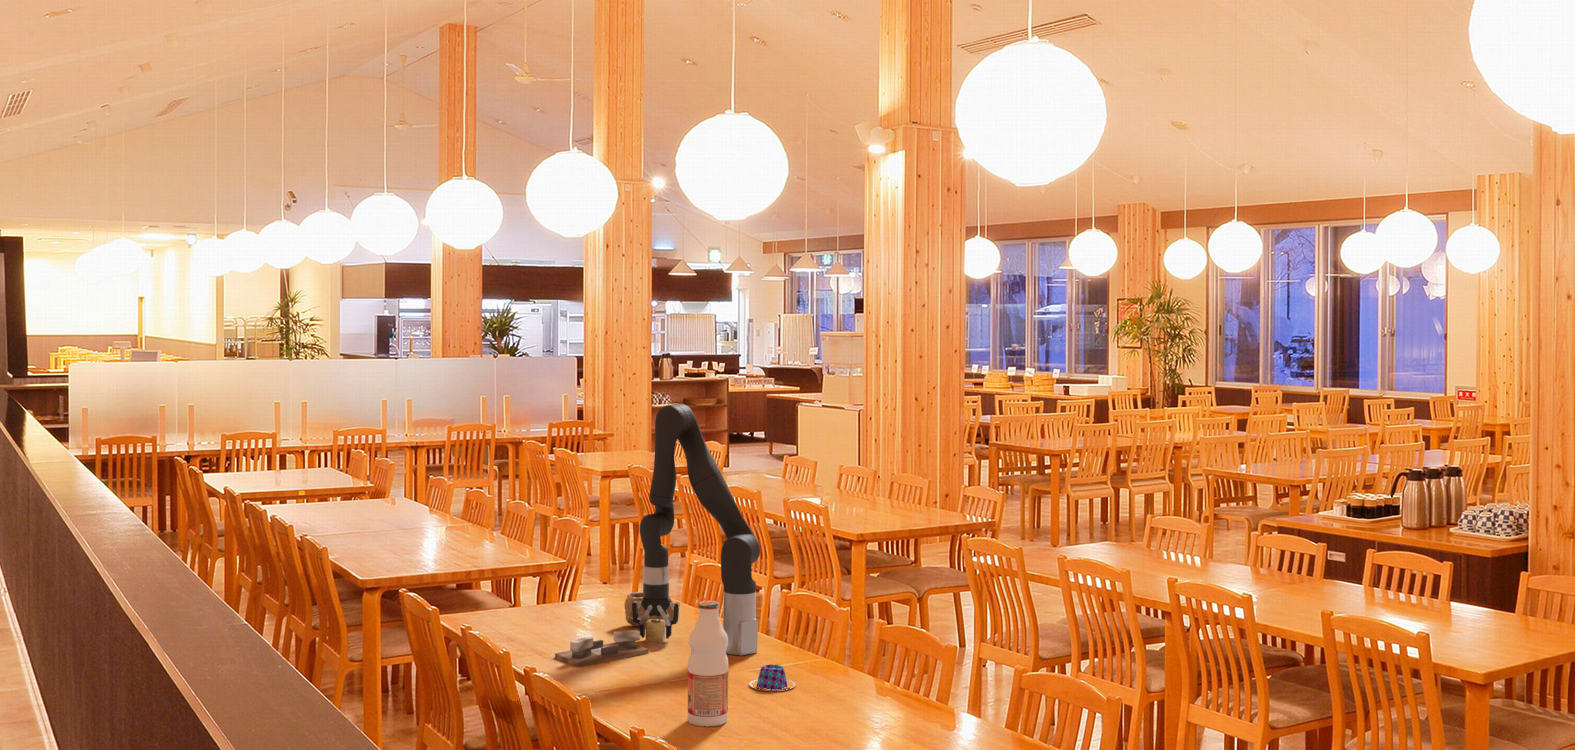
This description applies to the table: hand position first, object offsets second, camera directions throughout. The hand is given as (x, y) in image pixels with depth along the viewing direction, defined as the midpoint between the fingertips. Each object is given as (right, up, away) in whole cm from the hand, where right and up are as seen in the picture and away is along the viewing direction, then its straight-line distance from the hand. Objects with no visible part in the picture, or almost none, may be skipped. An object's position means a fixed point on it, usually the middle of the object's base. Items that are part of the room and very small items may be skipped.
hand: (655, 637), depth 372 cm
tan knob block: (0, -1, 0) cm, 1 cm away
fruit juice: (+20, -5, -74) cm, 77 cm away
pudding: (+35, -4, -44) cm, 56 cm away
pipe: (-4, -1, +21) cm, 21 cm away
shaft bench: (-13, -2, -17) cm, 21 cm away
